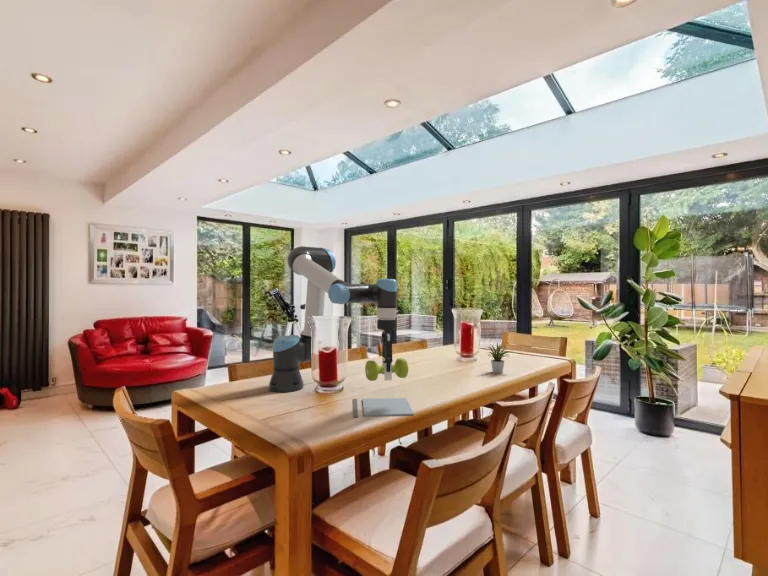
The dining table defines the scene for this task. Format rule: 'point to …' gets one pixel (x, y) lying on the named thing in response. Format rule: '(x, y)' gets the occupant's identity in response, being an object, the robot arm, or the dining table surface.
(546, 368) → the dining table surface
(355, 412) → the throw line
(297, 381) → the robot arm
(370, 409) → the mat
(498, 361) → the house plant
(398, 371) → the dumbbell
